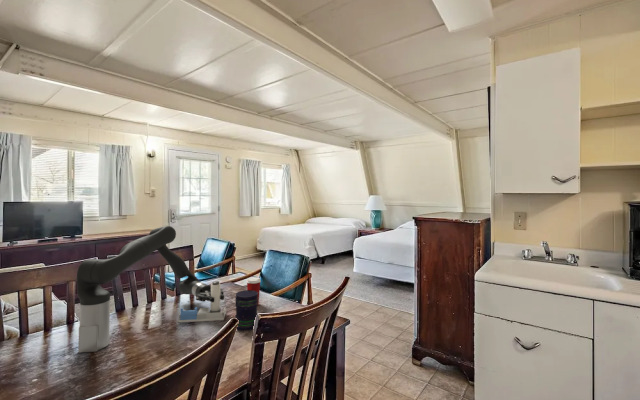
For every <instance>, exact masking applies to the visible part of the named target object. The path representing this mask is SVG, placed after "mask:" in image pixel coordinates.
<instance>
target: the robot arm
mask: <svg viewBox="0 0 640 400" xmlns="http://www.w3.org/2000/svg"><path fill="white" fill-rule="evenodd" d="M176 236H177V232H176V229H175V228H174V227H173V226H171V225H163V226H160V227H157V228H154V229H152V230H151V231H150V232H149V234H148V235H146V236H143V237H140V238H136V239H134V240H132V241H129V242H128V243H126V244H125V245H124V246H122V248H121V249H120V251H119V254H118V255H116V256H114V257H111V258H108V259H107V258H106V259H98V258H97V259H96V258H92V259H91V258H89V259H86V260H83V261H82V262H81V263H80V264H79V266H78V268H77V271H76V288H77V289H76V290H77V291H76V293H77V297H78V299H79V325H78V342H77V343H78V344H77V345H78V350H77V351H78V353H79V354H80V353H92V352H93V353H94V352H98V351H100V350H101V349H104V348H105V347H107V346H109V344H110V325H111V324H110V323H111V322H110V317H111V314H110V313H111V293H110V292H109V291H108V290H107V289H105V288H103V286H101V285H104V284H108V283H109V282H112V281H113V280H114V279H115V278H116V277H118V276H119V275H120V274H122V273H123V272H124V271H126V270H127V269H128V268H130V267H132V266H133V265H136V263H138V262H140V261H142V260H144V259H145V258H146V257H148V256H149V255H151V254H152V253H153V254H154V252H156V251H158V253H159V254H160V255H161V257H163V259H164V260H165V261H166V263H167V264H168V265H169V267H170V268H171V270H172V272H173V273H174V276H175V277H176V278H177V279H183V278H185V279H184V280H182V281H181V282H180V283H179V284H178V291H180V293H182V294H184V295H193V296H194V297H195V301H199V302H203V303H205V302H206V301H207V302H210V303H211V302H214V297H212V296H211V285H208V284H207V283H204V282H201V281H200V280H199V279H198V278H197V276H195V275H194V274H193V273H192V272H191V271H190V269H189V267H188V266H187V264H186V262H185V260H184V259H183V258H182V257H181V256H180V255H178V254H177V253H175V252H173V251H172V250H171V249H170V248H169V247H168V246H167V244H170V243H173V242H174V241H175V239H176ZM186 277H187V278H186ZM221 300H222V301H223V300H225V295H224V290H223V289H222V288H221V291H220V301H221Z"/></svg>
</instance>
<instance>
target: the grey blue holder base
mask: <svg viewBox="0 0 640 400" xmlns="http://www.w3.org/2000/svg"><path fill="white" fill-rule="evenodd" d="M226 313H227V307H226V306H223V309H222V311H221V312H217V313H210V307H200V308H199V310H198V307H197V306H196V307H194V309H189V310H186V309H185V308H184V307H180V312H179V314H178V323H191V322H192V323H193V322H210V321H213V322H214V321H224V320H225V317H226Z"/></svg>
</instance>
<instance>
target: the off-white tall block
mask: <svg viewBox="0 0 640 400" xmlns="http://www.w3.org/2000/svg"><path fill="white" fill-rule="evenodd" d="M210 286H211V296H212V297H214V302H210V308H209V312H210V313H217V312H222V311H221V299H220V291H221V289H222V288H221V283H220V281H218V280H216V281H212V283H211V284H210Z"/></svg>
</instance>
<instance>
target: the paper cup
mask: <svg viewBox="0 0 640 400" xmlns="http://www.w3.org/2000/svg"><path fill="white" fill-rule="evenodd" d="M245 281H246V289H247V290H253V291H256V292H258V295H257V296H258V305H259V303H260V302H259V301H260V291H261V282H262V281H261V278H260V277H248V278H247V280H245Z"/></svg>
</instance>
